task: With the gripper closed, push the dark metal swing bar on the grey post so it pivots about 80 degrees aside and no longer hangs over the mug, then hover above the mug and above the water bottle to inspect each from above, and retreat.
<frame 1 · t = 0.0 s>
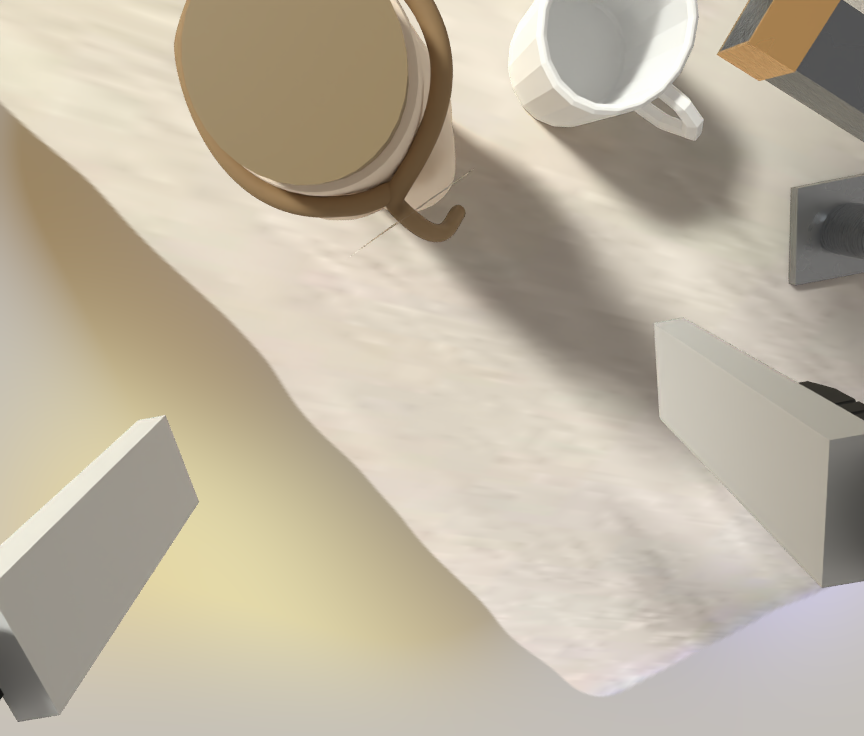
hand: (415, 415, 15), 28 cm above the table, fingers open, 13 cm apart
mug: (589, 82, 38), on the table
post: (838, 227, 41), on the table
water bottle: (388, 140, 39), on the table
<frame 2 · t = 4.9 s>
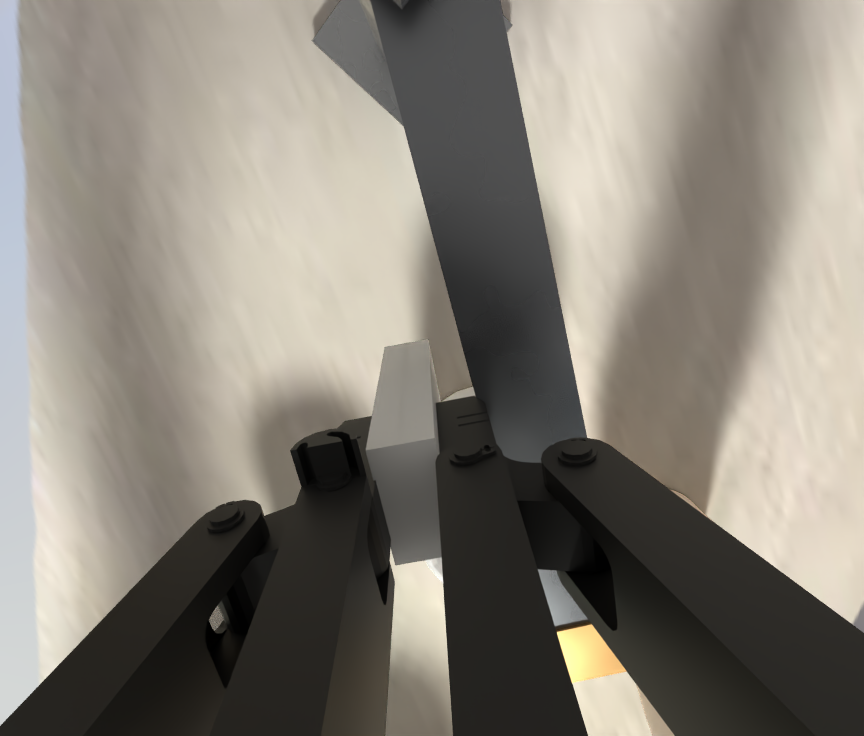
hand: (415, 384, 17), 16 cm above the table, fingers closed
mug: (484, 413, 36), on the table
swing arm: (519, 377, 15), point 19 cm above the table, hinge at 3.5°, touching gripper
post: (412, 36, 29), on the table
water bottle: (644, 524, 39), on the table
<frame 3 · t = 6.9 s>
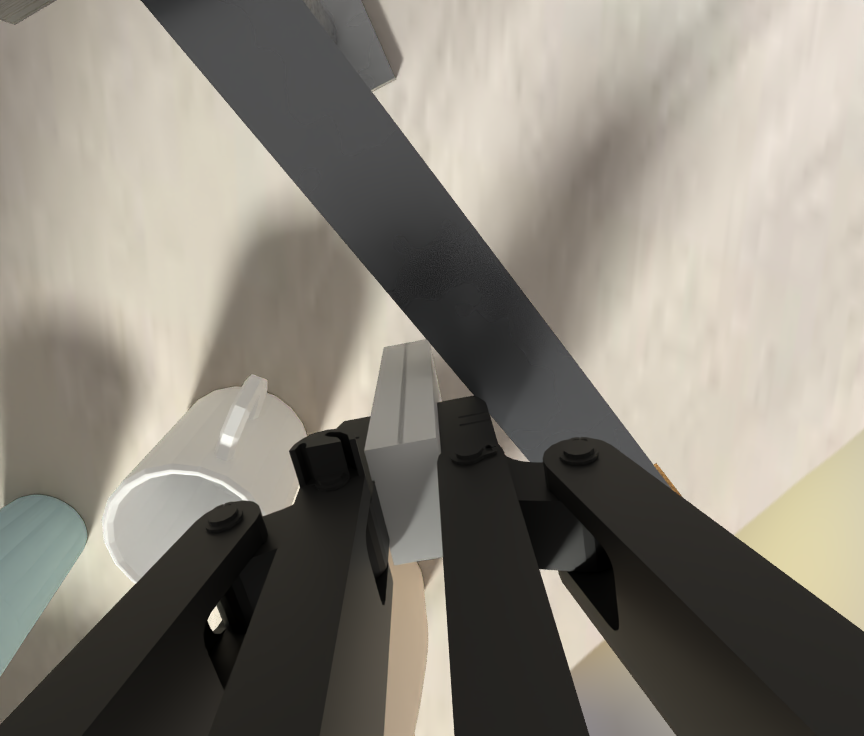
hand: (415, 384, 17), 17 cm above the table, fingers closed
mug: (257, 416, 36), on the table
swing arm: (476, 312, 14), point 19 cm above the table, hinge at 51.1°, touching gripper
cup: (48, 526, 38), on the table
post: (302, 42, 29), on the table
water bottle: (371, 572, 40), on the table
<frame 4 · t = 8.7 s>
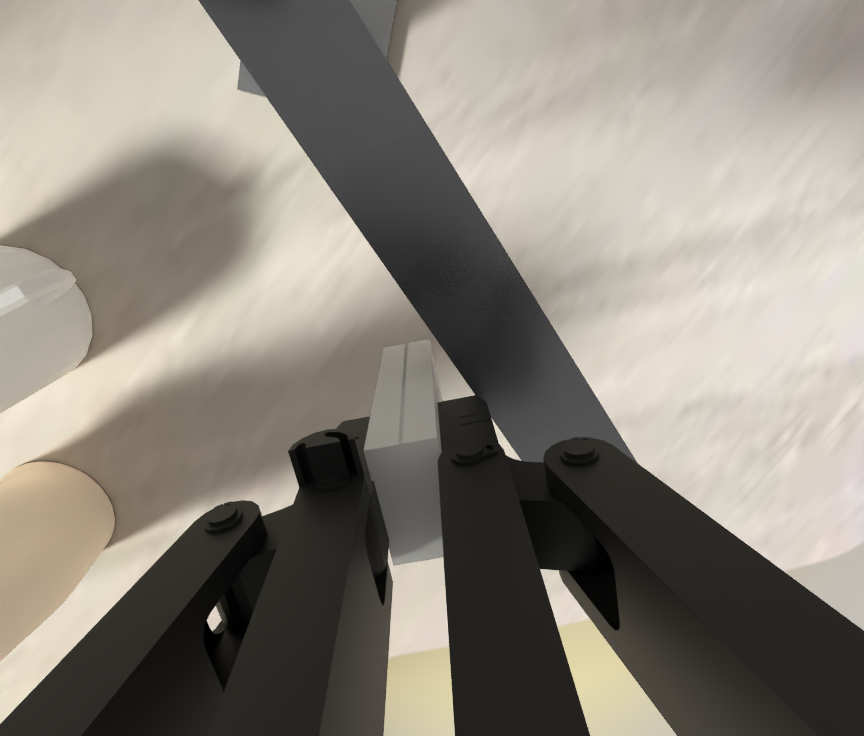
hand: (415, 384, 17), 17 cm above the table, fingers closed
mug: (52, 299, 33), on the table
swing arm: (482, 311, 14), point 19 cm above the table, hinge at 84.5°, touching gripper
post: (320, 34, 29), on the table
water bottle: (65, 504, 38), on the table
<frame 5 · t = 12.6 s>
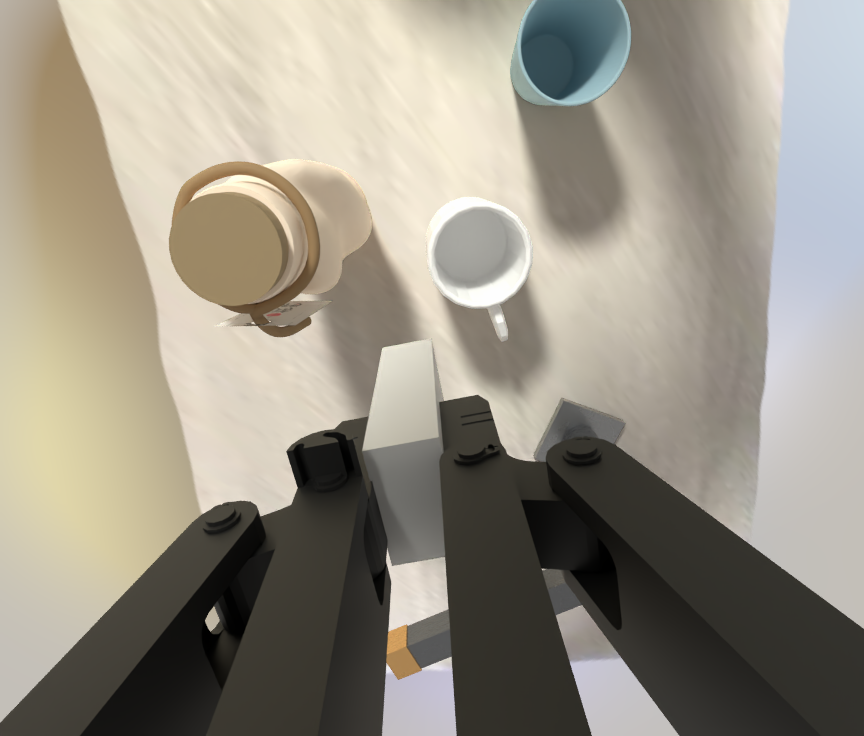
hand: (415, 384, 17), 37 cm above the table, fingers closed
mug: (475, 262, 53), on the table
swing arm: (501, 612, 43), point 19 cm above the table, hinge at 84.6°
cup: (541, 69, 48), on the table
post: (577, 437, 59), on the table
water bottle: (329, 217, 52), on the table
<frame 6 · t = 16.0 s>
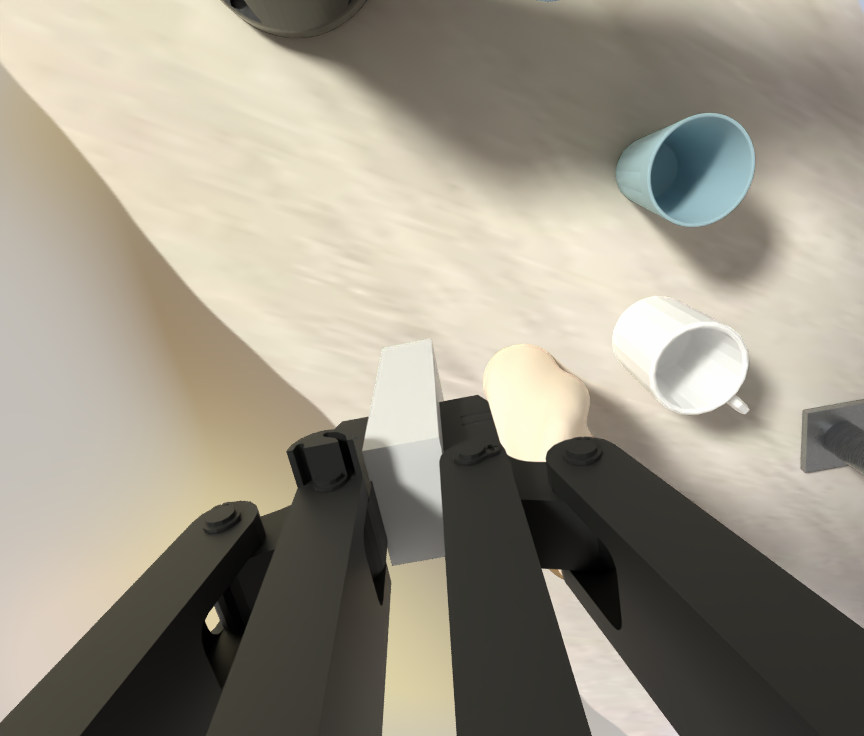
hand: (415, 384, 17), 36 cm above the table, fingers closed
mug: (665, 347, 56), on the table
cup: (645, 170, 50), on the table
post: (835, 434, 59), on the table
water bottle: (527, 382, 57), on the table
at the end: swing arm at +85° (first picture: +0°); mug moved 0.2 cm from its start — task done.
